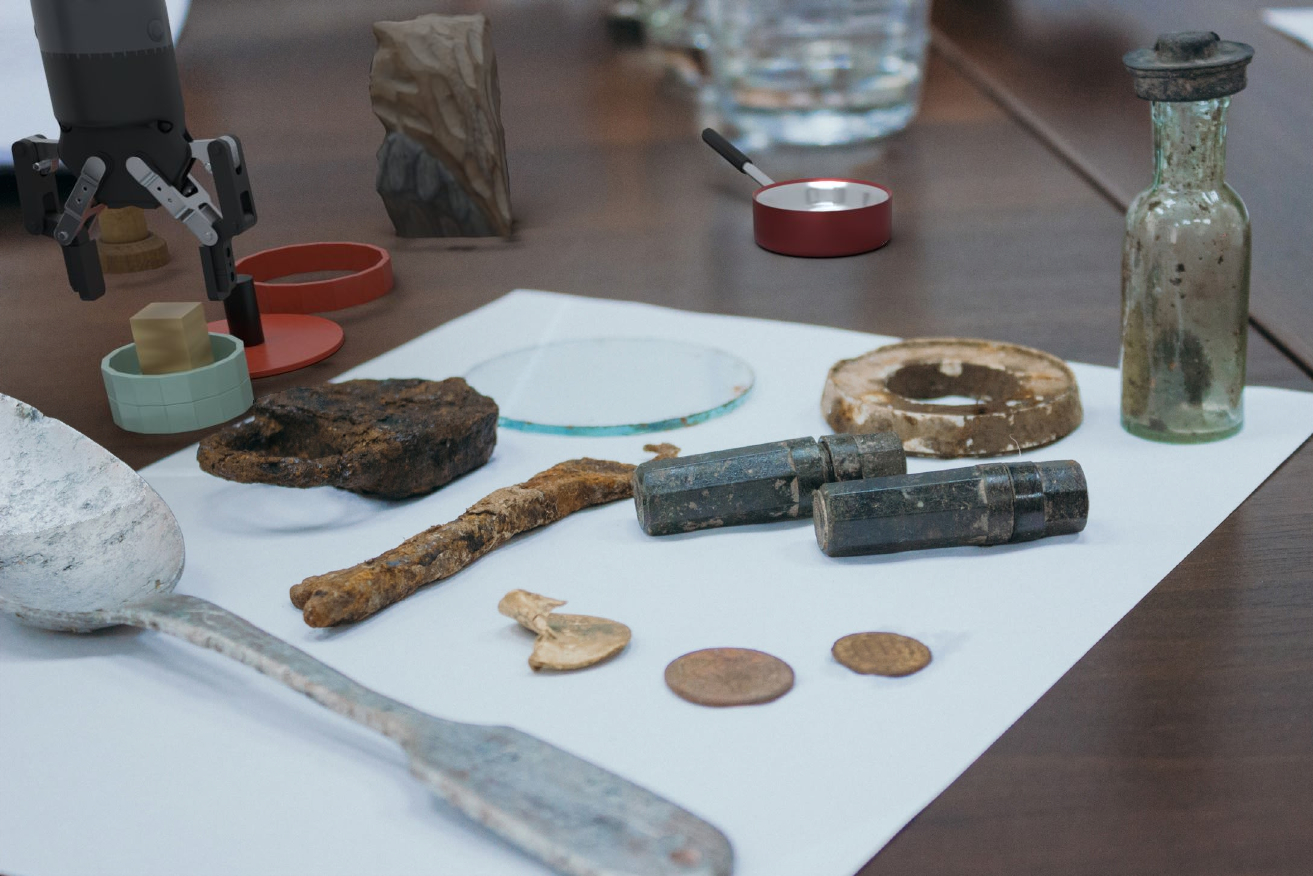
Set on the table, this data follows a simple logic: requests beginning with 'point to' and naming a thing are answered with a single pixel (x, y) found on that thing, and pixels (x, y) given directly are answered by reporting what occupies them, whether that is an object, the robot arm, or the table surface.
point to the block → (171, 338)
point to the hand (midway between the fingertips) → (156, 298)
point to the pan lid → (275, 333)
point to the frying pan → (813, 210)
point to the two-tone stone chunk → (440, 127)
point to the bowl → (178, 390)
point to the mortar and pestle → (129, 242)
